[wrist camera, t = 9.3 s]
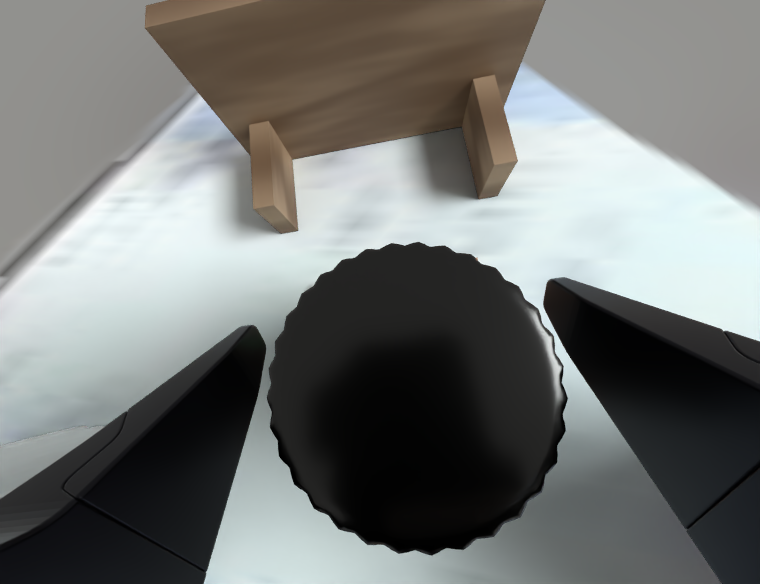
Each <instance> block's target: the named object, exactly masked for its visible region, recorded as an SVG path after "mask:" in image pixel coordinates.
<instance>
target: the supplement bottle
mask: <svg viewBox="0 0 760 584" xmlns="http://www.w3.org/2000/svg"><path fill="white" fill-rule="evenodd" d="M563 367H564V366H563V365H562V363H561V361H560V359H559V358H558V357H557V355H556V354H555V343H554V336H553V335H552V334H551V332H550V331H549V330H548V329H547V328H545V327H544V325H543V324H542V321H541V315H540V313H539V310H538V309H537V308H536V307H535V306H534V305H532V304H531V303H529V302H528V301H526V300H525V298H524V297H523V293H522V291H521V290H520V288H519V286H517V285H515V284H513V283H511V282H509V281H506V280H504V278H503V277H502V275H501V274H500V272H499V271H498V270H497V269H496V268H494V267H491V266H488V265H483V264H481V263H480V262H478V260H477V259H476V258H475V257H474V256H472V255H471V254H465V253H455V252H454V251H452V250H451V249H450V248H448V247H446V246H434V247H429V246H427V245H425V244H423V243H420V242H416V243H412V244H409V245H406V246H403V245H399V244H394V243H391V244H389V245H386V246H385V247H383V248H381V249H378V250H375V249H366V250H364V251H363V252H361V253H360V254H359V255H358V256H357V257H355V258H352V259H344V260H342V261H341V262H340V263H339V264H338V265H337V266H336V267H335V268H334V270H332V271H330V272H326V273H324V274H321V275H320V276H319V278H318V279H317V281H316V283H315V285H314V286H313V287H312V288H310V289H308V290H307V291H305V292H304V293H302V294H301V297H300V299H299V302H298V305H297V307H296V308H295V309H294V310H293V311H291V312H290V313H289V314H288V315H287V316H286V321H285V326H284V331H283V332H282V333H281V334H280V335H279V337H278V338H277V340H276V341H275V358H274V360H273V361H272V363H271V365H270V367H269V375H270V380H271V386H270V389H269V391H268V395H267V400H268V403H269V406H270V408H271V411H272V417H271V421H270V428H271V430H272V432H273V434H274V435H275V437H276V438H277V440H278V452H279V457H280V458H281V459H282V461H283V462H284V463H285V464H287V465H288V467H289V468H290V471H291V476H292V479H293V482H294V484H295V485H296V486H297V487H298V488H300V489H301V490H303V491H305V492H306V493H307V495H308V497H309V500H310V502H311V504H312V506H313V507H314V509H316V510H318V511H320V512H322V513H325V514H327V515H329V517H330V518H331V520H332V521H333V523H334V524H335V525H336V526H337V528H338V529H339V530H343V531H347V532H352V533H355V534H356V535H357V536H358V537H359V538H360V539H361V540H362V541H364V542H365V543H366V544H367V545H378V544H379V545H385V546H387V547H388V548H390V549H391V550H393V551H395V552H397V553H398V554H400V553H405V552H409V551H413V550H417V551H419V552H422V553H425V554H428V555H434V554H436V553H438V552H440V551H441V550H443V549H445V548H451V549H460V550H464V549H465V548H467V547H468V546H469V545H471V543H472V542H473V541H475V540H476V539H481V538H490V537H494V536H495V535H496V534H497V533H498V531H499V530H500V528H501V526H502V525H503V524H504V523H506V522H509V521H512V520H515V519H517V518H520V517H521V515H522V513H523V511H524V509H525V507H526V504H527V502H528V501H529V500H531V499H532V498H534V497H536V496H537V495H538V494H540V493H541V492H542V490H543V486H544V479H545V475H546V474H547V473H548V472H549V471H550V470H551V469H552V468H553V467H554V466H555V465H556V463H557V456H558V454H557V445H558V443H559V442H560V440H561V439H562V437H563V435H564V433H565V431H566V429H565V422H564V420H563V411H564V409H565V406H566V403H567V399H568V398H567V395H566V392H565V389H564V387H563V385H562V383H561V382H562V377H563Z"/></svg>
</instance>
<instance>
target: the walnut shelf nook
mask: <svg viewBox="0 0 760 584" xmlns="http://www.w3.org/2000/svg"><path fill="white" fill-rule="evenodd" d="M545 1H546V0H167V1H163V2H159V3H155V4H151V5H147V6H146V15H145V29H146V30H147V31H148V32H149V33H150V35H151V36H152V37H153V38H154V39H155V41H156V42H157V43H158V44H159V45H160V47H161V48H162V49H163V50H164V52H165V53H166V54H167V55H168V56H169V58H170V59H171V60H172V61H173V62H174V64H175V65H176V66H177V67H178V69H179V70H180V71H181V72H182V73H183V75H184V76H185V77H186V78H187V80H188V81H189V82H190V83H191V84H192V86H193V87H194V88H195V89H196V90H197V92H198V93H199V94H200V95H201V96H202V98H203V99H204V100H205V101H206V103H207V104H208V105H209V106H210V107H211V109H212V110H213V111H214V112H215V113H216V115H217V116H218V117H219V118H220V119H221V121H222V122H223V123H224V124H225V126H226V127H227V128H228V129H229V130H230V132H231V133H232V134H233V135H234V136H235V138H236V139H237V140H238V141H239V142H240V144H241V145H242V146H243V147H244V149H245V150H246V151H247V152H248V153H249V155H250V156H251V173H252V194H253V209H254V210H255V211H256V212H257V213H258V214H260V215H261V216H262V217H263V218H264V219H265V220H266V221H267V222H268V223H270V224H271V225H272V226H273V227H274V228H275V229H276V230H277V231H279V232H280V233H281V234H282V233H288V232H293V231H298V223H297V211H296V199H295V187H294V174H293V162H292V159H296V158H301V157H307V156H312V155H317V154H322V153H327V152H332V151H338V150H343V149H348V148H353V147H358V146H363V145H369V144H374V143H379V142H384V141H389V140H394V139H400V138H405V137H410V136H415V135H420V134H426V133H431V132H436V131H441V130H446V129H451V128H457V127H462V130H463V134H464V139H465V143H466V147H467V152H468V156H469V161H470V165H471V169H472V174H473V178H474V182H475V187H476V191H477V195H478V199H483V198H488V197H494V196H498V194H499V192H500V190H501V189H502V187H503V185H504V184H505V182H506V180H507V178H508V177H509V175H510V173H511V171H512V170H513V168H514V166H515V165H516V163H517V161H518V160H517V156H516V152H515V149H514V145H513V141H512V137H511V134H510V130H509V126H508V123H507V119H506V115H505V111H504V105H505V103H506V100H507V97H508V95H509V92H510V90H511V87H512V85H513V82H514V80H515V77H516V75H517V72H518V69H519V67H520V64H521V62H522V59H523V57H524V54H525V51H526V49H527V46H528V44H529V41H530V39H531V36H532V34H533V31H534V29H535V26H536V24H537V21H538V18H539V16H540V13H541V11H542V8H543V5H544V3H545Z"/></svg>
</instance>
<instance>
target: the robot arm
mask: <svg viewBox="0 0 760 584" xmlns="http://www.w3.org/2000/svg"><path fill="white" fill-rule="evenodd" d="M543 305H544V309H545V311H546V313H547V315H548V317H549V319H550V321H551V323H552V325H553V327H554V329H555V331H556V333H557V335H558V337H559V339H560V341H561V343H562V344H563V346H564V348H565V350H566V352H567V353H568V355H569V356H570V358H571V360H572V361H573V363H574V364H575V366H576V367H577V369H578V370H579V371H580V373H581V374H582V376H583V377H584V379H585V380H586V382H587V383H588V385H589V386H590V388H591V389H592V391H593V392H594V394H595V395H596V397H597V398H598V400H599V401H600V403H601V404H602V406H603V407H604V409H605V410H606V412H607V413H608V415H609V416H610V418H611V419H612V421H613V422H614V424H615V425H616V427H617V428H618V430H619V431H620V433H621V434H622V435H623V437H624V438H625V440H626V441H627V443H628V444H629V446H630V447H631V449H632V450H633V452H634V453H635V455H636V456H637V458H638V459H639V461H640V462H641V464H642V465H643V467H644V468H645V470H646V471H647V473H648V474H649V476H650V477H651V479H652V480H653V482H654V483H655V485H656V486H657V488H658V489H659V491H660V492H661V494H662V495H663V497H664V498H665V499H666V501H667V502H668V504H669V505H670V507H671V508H672V510H673V511H674V513H675V514H676V516H677V517H678V519H679V520H680V522H681V523H682V525H683V526H684V528H686V529H687V533H688V534H689V536H690V537H691V539H692V540H693V542H694V543H695V545H696V546H697V548H698V549H699V551H700V552H701V554H702V555H703V557H704V558H705V560H706V561H707V562H708V564H709V565H710V567H711V568H712V570H713V571H714V573H715V574H716V576H717V577H718V579H719V580H720V582H721V583H722V584H760V341H756V340H753V339H750V338H747V337H744V336H741V335H738V334H735V333H732V332H729V331H723V330H722V329H720V328H717V327H714V326H711V325H708V324H705V323H702V322H699V321H696V320H692V319H689V318H686V317H683V316H680V315H677V314H674V313H671V312H668V311H665V310H662V309H659V308H656V307H653V306H650V305H647V304H644V303H641V302H638V301H635V300H632V299H629V298H626V297H623V296H620V295H617V294H614V293H611V292H608V291H605V290H602V289H599V288H596V287H593V286H590V285H586V284H583V283H580V282H577V281H574V280H571V279H568V278H565V277H561V278H554V279H550V280H549V281H548V282H547V285H546V290H545V296H544V301H543ZM265 354H266V345H265V342H264V340H263V338H262V337H261V335H260V333H259V331H258V329H257V327H256V326H254V325H247V326H241V327H239V328H238V329H237V330H235V331H234V332H232V333H231V334H230V335H228V336H227V337H226V338H224V339H223V340H222V341H220V342H219V343H218V344H216V345H215V346H214V347H212V348H211V349H209V350H208V351H207V352H205V353H204V354H203V355H201V356H200V357H199V358H197V359H196V360H195V361H193V362H192V363H191V364H189V365H188V366H186V367H185V368H184V369H182V370H181V371H180V372H178V373H177V374H176V375H174V376H173V377H172V378H170V379H169V380H168V381H166V382H165V383H163V384H162V385H161V386H159V387H158V388H157V389H155V390H154V391H153V392H151V393H150V394H149V395H147V396H146V397H145V398H143V399H142V400H140V401H139V402H138V403H136V404H135V405H134V406H132V407H131V408H130V409H129V410H128V411H126V412H124V413H123V414H121V415H120V416H119V417H117V418H116V419H115V420H113V421H112V422H111V423H109V424H108V425H106V426H105V427H104V428H102V429H101V430H100V431H98V432H97V433H95V434H94V435H93V436H91V437H90V438H88V439H87V440H86V441H84V442H83V443H81V444H80V445H78V446H77V447H76V448H74V449H73V450H71V451H70V452H68V453H67V454H65V455H64V456H63V457H61V458H60V459H58V460H57V461H55V462H54V463H52V464H51V465H49V466H48V467H46V468H45V469H44V470H42V471H41V472H39V473H38V474H36V475H35V476H33V477H32V478H30V479H29V480H27V481H26V482H24V483H23V484H21V485H20V486H18V487H17V488H16V489H14V490H13V491H11V492H10V493H8V494H7V495H5V496H4V497H2V498H1V499H0V584H204V580H205V577H206V571H207V569H208V566H209V562H210V559H211V555H212V552H213V549H214V545H215V542H216V538H217V535H218V531H219V528H220V524H221V521H222V518H223V514H224V511H225V507H226V504H227V500H228V497H229V493H230V490H231V487H232V483H233V480H234V476H235V473H236V469H237V466H238V463H239V459H240V456H241V452H242V449H243V445H244V442H245V438H246V435H247V432H248V428H249V425H250V421H251V418H252V414H253V411H254V407H255V404H256V401H257V397H258V393H259V388H260V383H261V377H262V371H263V365H264V360H265Z"/></svg>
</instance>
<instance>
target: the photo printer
mask: <svg viewBox="0 0 760 584" xmlns="http://www.w3.org/2000/svg"><path fill="white" fill-rule="evenodd" d="M104 427H105V426H95V427H90V428H88V427H87V426H78V427H73V428H68V429H64V430H60V431H56V432H52V433H48V434H44V435H40V436H36V437H32V438H28V439H24V440H20V441H16V442H12V443H8V444H4V445H0V499H1V498H2V497H4V496H5V495H7V494H8V493H10V492H11V491H13V490H14V489H16V488H17V487H18V486H20V485H21V484H23V483H24V482H26V481H27V480H29V479H30V478H32V477H33V476H35V475H36V474H38V473H39V472H41V471H42V470H44V469H45V468H46V467H48V466H49V465H51V464H52V463H54V462H55V461H57V460H58V459H60V458H61V457H63V456H64V455H65V454H67V453H68V452H70V451H71V450H73V449H74V448H76V447H77V446H78V445H80V444H81V443H83V442H84V441H86V440H87V439H88V438H90V437H91V436H93V435H94V434H95V433H97V432H98V431H100V430H101V429H102V428H104Z"/></svg>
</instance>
